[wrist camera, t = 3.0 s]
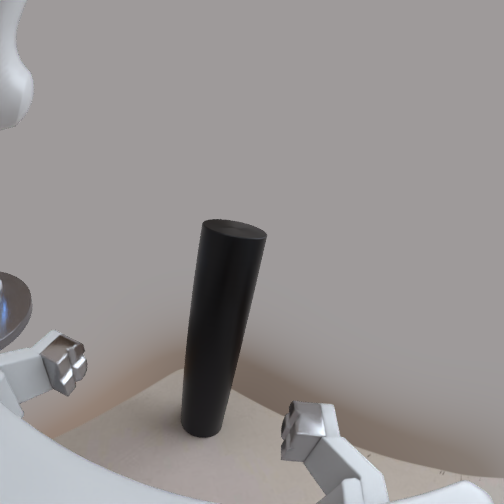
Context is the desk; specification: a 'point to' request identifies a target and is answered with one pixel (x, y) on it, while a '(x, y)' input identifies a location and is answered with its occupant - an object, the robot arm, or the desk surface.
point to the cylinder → (218, 320)
